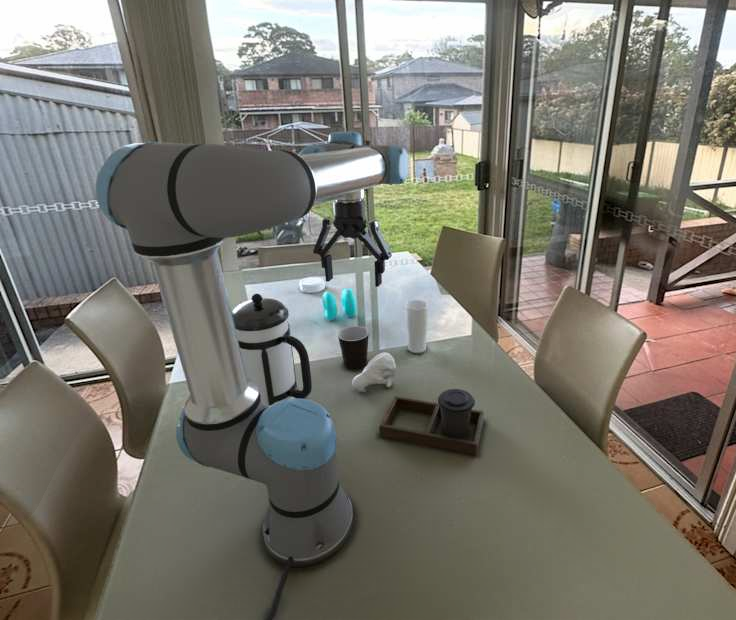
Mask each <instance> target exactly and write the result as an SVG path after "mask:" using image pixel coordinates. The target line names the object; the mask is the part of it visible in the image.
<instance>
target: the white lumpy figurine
mask: <svg viewBox="0 0 736 620" xmlns="http://www.w3.org/2000/svg"><path fill="white" fill-rule="evenodd" d="M396 371H397V366H396V362H395V358H394V357H393V356H392V355H391V354H390V353H389V352H386V351H384V352H380V353H378V354H376V355H375V356H373V358H371V359H370V360H369V361H368V362H367V364H366V366H365V367H364V368H363V370H362V372H361V373H359V374H357V375H355V376H354V378H353V379H352V383H351V384H352V387H353V389H355V390H357V391H358V392H363V393H365V392H366V387H368V386H371V385H376V384H377V385H378V384H379V385H385V387H386V388H390V387H391V385H392V383H393V381H394V378H395V375H396Z"/></svg>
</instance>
